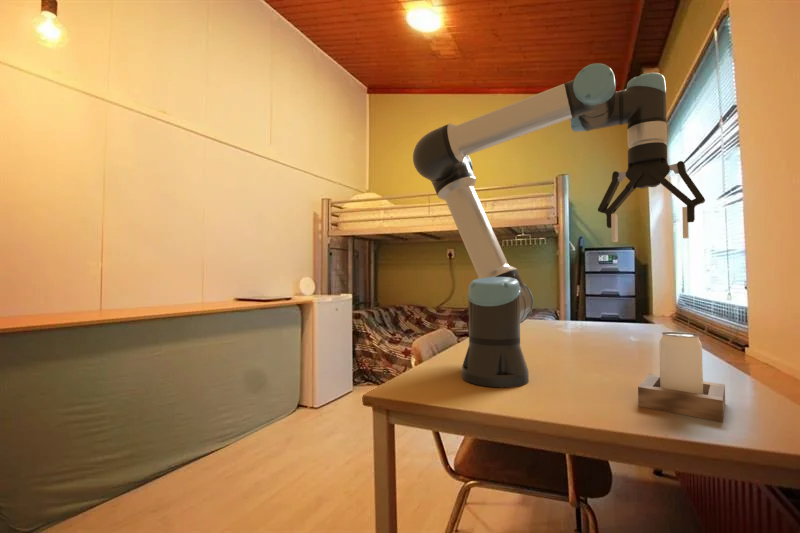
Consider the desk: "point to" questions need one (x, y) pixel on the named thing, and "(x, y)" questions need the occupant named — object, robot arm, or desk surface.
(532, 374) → the desk surface
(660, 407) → the holder
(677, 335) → the can
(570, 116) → the robot arm
